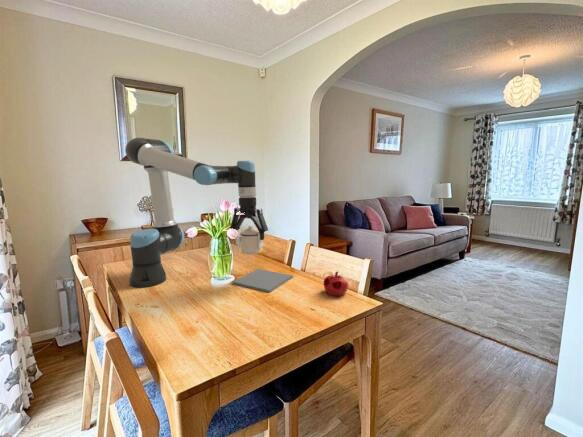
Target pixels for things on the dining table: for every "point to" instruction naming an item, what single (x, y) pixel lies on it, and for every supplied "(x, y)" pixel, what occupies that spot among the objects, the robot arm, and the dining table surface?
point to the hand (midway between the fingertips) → (249, 245)
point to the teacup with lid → (250, 241)
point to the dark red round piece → (335, 285)
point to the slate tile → (263, 280)
